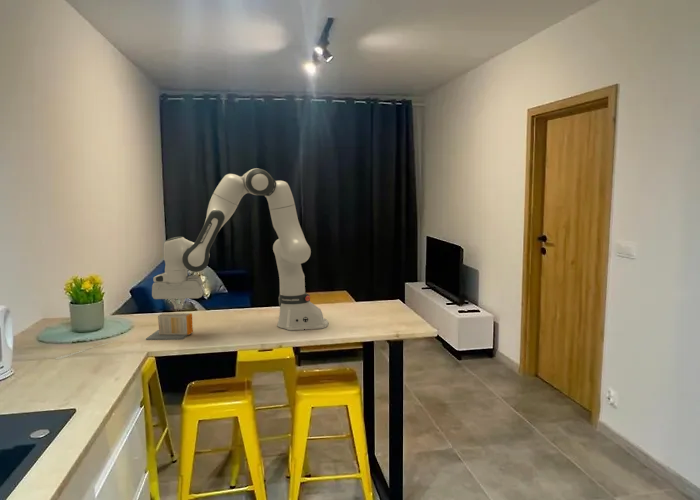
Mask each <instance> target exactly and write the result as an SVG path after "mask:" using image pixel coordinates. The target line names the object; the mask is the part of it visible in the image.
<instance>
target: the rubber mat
mask: <svg viewBox="0 0 700 500" xmlns="http://www.w3.org/2000/svg"><path fill="white" fill-rule="evenodd" d="M187 337H188V335H159V329H157V330H156V331H155V332H153V333H152V334H151V335H149V336H148V337H146V338H145V341H158V340H159V341H165V340H166V341H167V340H168V341H170V340H172V341H173V340H178V341H179V340H182V341H183V340H184V339H185V338H187Z"/></svg>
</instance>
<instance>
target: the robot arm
mask: <svg viewBox="0 0 700 500" xmlns="http://www.w3.org/2000/svg"><path fill="white" fill-rule="evenodd" d="M246 194H251V195H254V196H264V197H265V198H266V200H267V203H268V209H269V213H270V218H271V223H272V228H273V229H274V231H275V232H276V235H277V237H278V239H276V240H275V241H274V243H273V245H272V250H273V251H272V252H273V253H274V256H275V261H276V266H277V271H278V277H279V278H278V279H279V280H278V281H279V293H278V306H279V315H278V321H277V325H276V327H278V328H280V329H284V330H287V331H302V330H303V331H304V329H305V330H321V329H325V328H327V327H328V326H329V320H328V319H326V318H324V313H323V311H322V309H321V308H320V307H318V305H315V304H314V303H313V302H311V295H310V293H307V292H306V287H305V286H306V282H305V281H306V280H305V277H306V276H305V273H304V271H303V267H302V264H305V263H306V262H307V261H308V260H309V259H310V257H311V253H312V251H311V250H312V249H311V246H310V245H309V244H308V242H307V240H306V238H305V235H304V232H303V229H302V227H301V225H300V221H299V219H298V212H297V209H296V208H297V207H296V203H295V199H294V196H293V193H292V190H291V187H290V185H289V183H288V182H287V181H284V180H275V178H273V177H272V175H271V174H270V173H269V172H268V171H266V170H265V169H262V168H257V167H256V168H252V169H250V170H248V171H246V172H245V173H243V174H242V175H238V174H235V173H227V174H225V175H224V176H223V177H222V179H221V180H220V181H219V182H218V185H217V186H216V188H215V190H214V191H213V193H212V195H211V198H210V200H209V202H208V205H207V210H206V216H205V217H206V218H205V221H204V224H203V226H202V228H201V230H200V232H199V234H198V236H197V237H196V240H194V242H193V241H191V240H188V239H186V238H185V237H184V236H175V237H171V238H168V239H166V240H165V241H164V243H163V260H164V264H165V266H164V272H161V273H160V274H157V275H156V276H154V277H152V278H153V283H152V285H151V297H152V298H153V299H154V300H170V302H171V303H172V305H173V309H174V310H183V307H184V306H183V305H184V303H185V300H186V299H200V298H202V296H203V295H204V292H203V286H202V285H203V280H202V278H201V277H200V276H198V275H188V270H189V271H190V272H193V273H199V272H201V271H204V270H205V269H206V268H207V267H208V265H209V262H210V255H211V254H210V251H211V248H212V245H214V244H213V243H214V242H215V240H216V237H217V235H218V233H219V232H220V230H221V229H222V228H223V227H224V225H225V224H226V223H227V222H228V221H229V220H230V219H231V217H232V216H233V214H234V213H235V212H236V209H237V208H238V206H239V204H240V202H241V200H242V199H243V197H244V196H245V195H246ZM177 299H178V300H179V301H180V303H179V304H178V303H177Z"/></svg>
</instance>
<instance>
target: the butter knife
mask: <svg viewBox="0 0 700 500" xmlns="http://www.w3.org/2000/svg"><path fill="white" fill-rule="evenodd" d="M112 343H113V341H110V342H106V343H103V344H98V345H95V346H94V348H97V347H100V346H103V345H108V344H112ZM91 348H93V346H92V347H90V349H91ZM82 352H83V353H84V352H86V350H85V349H83V350H80V351H76V352H72V353H70V354H68V353H67V354H64V355H62V356H58V357H55V360H62V359H65V358H68V357H71V356H73V355H76V354H79V353H82Z"/></svg>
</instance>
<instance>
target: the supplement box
mask: <svg viewBox="0 0 700 500" xmlns="http://www.w3.org/2000/svg"><path fill="white" fill-rule="evenodd" d="M157 321H158V330H159V335H187V336H190V334H192V333H194V329H193V328H194V327H193V313H191V312H190V313H187V312H186V313H179V312H178V313H171V312H169V313H167V312H166V313H165V312H164V313H163V312H162V313H160V314H159V315H157Z"/></svg>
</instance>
